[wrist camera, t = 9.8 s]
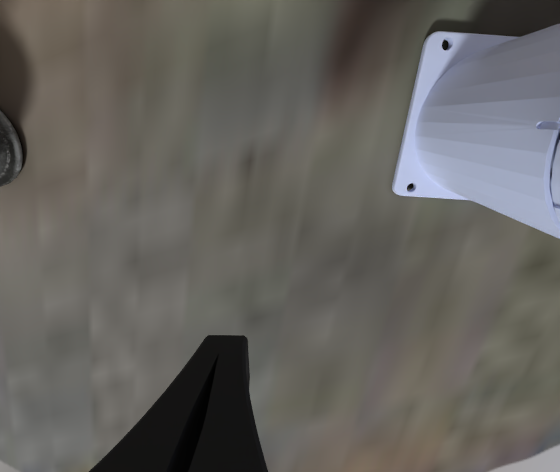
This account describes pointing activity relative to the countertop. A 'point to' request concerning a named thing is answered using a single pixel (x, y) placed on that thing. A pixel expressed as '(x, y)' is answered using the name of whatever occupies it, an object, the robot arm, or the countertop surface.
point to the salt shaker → (9, 151)
